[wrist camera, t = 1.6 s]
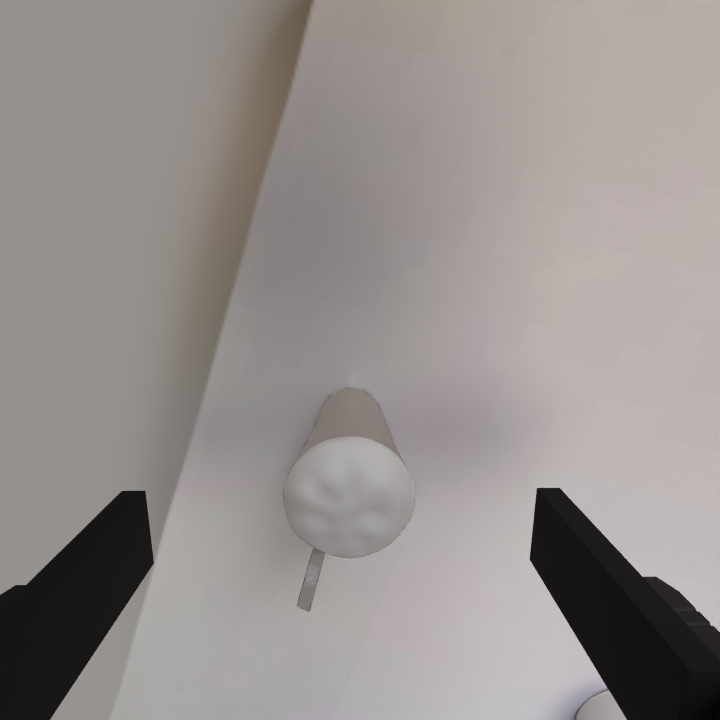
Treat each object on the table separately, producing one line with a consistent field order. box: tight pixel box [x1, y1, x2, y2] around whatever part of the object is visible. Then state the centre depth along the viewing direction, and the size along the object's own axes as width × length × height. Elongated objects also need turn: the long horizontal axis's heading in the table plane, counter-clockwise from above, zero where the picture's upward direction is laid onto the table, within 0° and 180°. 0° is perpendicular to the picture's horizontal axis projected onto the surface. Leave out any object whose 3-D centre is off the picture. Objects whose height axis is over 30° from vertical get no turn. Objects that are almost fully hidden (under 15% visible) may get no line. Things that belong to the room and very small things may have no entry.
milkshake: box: [283, 388, 415, 611], centre depth 18 cm, size 4×5×10 cm
